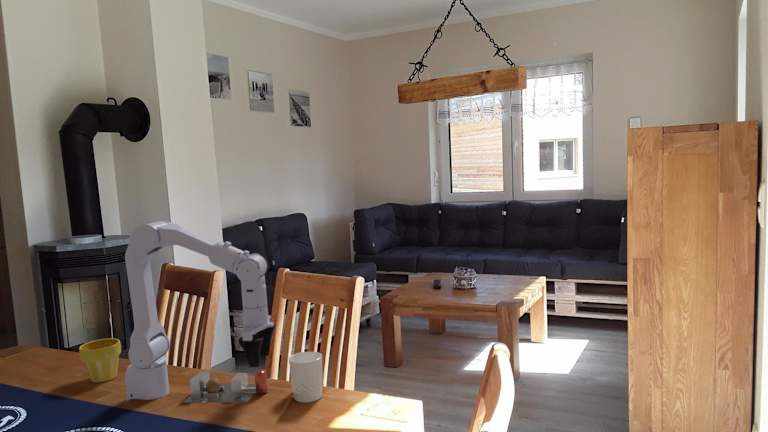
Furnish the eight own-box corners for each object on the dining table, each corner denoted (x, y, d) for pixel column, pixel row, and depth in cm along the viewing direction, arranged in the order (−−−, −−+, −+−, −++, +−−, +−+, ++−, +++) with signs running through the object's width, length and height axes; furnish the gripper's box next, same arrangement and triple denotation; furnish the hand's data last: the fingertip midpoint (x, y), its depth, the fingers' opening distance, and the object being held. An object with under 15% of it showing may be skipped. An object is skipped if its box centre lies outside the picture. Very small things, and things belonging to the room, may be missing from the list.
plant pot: (73, 383, 163) (69, 348, 162) (104, 370, 173) (101, 336, 172) (102, 387, 159) (98, 351, 158) (132, 373, 169) (128, 339, 168)
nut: (204, 396, 146) (202, 381, 146) (209, 390, 150) (208, 376, 149) (218, 395, 146) (217, 381, 145) (223, 390, 149) (222, 376, 149)
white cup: (318, 404, 140) (316, 362, 139) (286, 403, 142) (283, 362, 141) (328, 391, 148) (326, 351, 147) (298, 390, 150) (295, 351, 149)
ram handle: (232, 395, 145) (230, 375, 144) (239, 387, 149) (237, 368, 149) (264, 395, 144) (262, 375, 143) (270, 387, 148) (268, 367, 148)
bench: (183, 407, 143) (181, 384, 142) (202, 389, 154) (200, 367, 153) (248, 406, 141) (246, 383, 141) (262, 388, 152) (261, 367, 151)
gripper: (261, 313, 136) (266, 371, 138) (279, 297, 151) (283, 350, 152) (231, 314, 137) (236, 371, 139) (252, 298, 152) (256, 351, 153)
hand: (259, 360), depth 145 cm, fingers open, 7 cm apart
